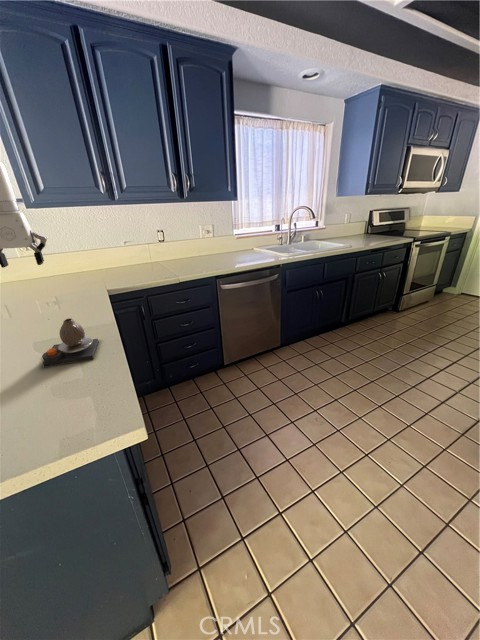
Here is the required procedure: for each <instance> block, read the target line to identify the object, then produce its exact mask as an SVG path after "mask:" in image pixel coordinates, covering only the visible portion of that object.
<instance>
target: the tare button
mask: <svg viewBox="0 0 480 640" xmlns="http://www.w3.org/2000/svg"><path fill="white" fill-rule="evenodd" d="M46 352H47V354H48V356H54V355H56V354H58V353H57V350H56V349H55V348H52V347H51V348H49V349H47V350H46Z"/></svg>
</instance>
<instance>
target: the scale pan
mask: <svg viewBox="0 0 480 640" xmlns="http://www.w3.org/2000/svg"><path fill="white" fill-rule="evenodd" d="M92 339H93V338H91V337H90V336H85V338H84V341H83V342H82V343H81V344H80V345H77V346H68V345H66V344H64V343H63V342H61V343H59V344H60V345H59V347H58V349H59V351H60V352H63V353H73V352H77V351H81V350H83V349H86V348H87V347H89V346H90V345H91V344H92V342H93V341H92Z"/></svg>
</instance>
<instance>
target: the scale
mask: <svg viewBox="0 0 480 640" xmlns="http://www.w3.org/2000/svg"><path fill="white" fill-rule="evenodd" d="M91 339H92V341H93V342H92V344H91V345H90V346H89V347H87V348H86V349H83V350H81V351H77V352H73V353H63V352H60V351H59V349H58V347H59V345H60V344H61V343H57V344H53V345H52V347H51V349H52V348H55V349H56V350H57V353H58V354H56V355H54V356H48V354H47V351H46V352H44V353H42V355H41V358H42V360H43V362H42V366H43V368H47V367H52V366H57V365H58V366H59V365H65V364H71V363H77V362H82V361H89V360H94V359H95V355H96V351H97V350H98V349H97V348H98V346H99V338H91Z"/></svg>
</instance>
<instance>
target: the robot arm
mask: <svg viewBox="0 0 480 640" xmlns="http://www.w3.org/2000/svg"><path fill="white" fill-rule="evenodd" d="M36 239H37V240H39V241H40V242H39V244H36V242H37V241H36ZM47 240H48V238H47V236H44V235H42V234H39V233H37V232H33V230H32V228H31V225H30V223H29V221H28V220H27V217H26V216H25V213H24V212H21V211H20V207H19V205H18V202H17V198H16V196H15V192H14V190H13V186H12V183H11V181H10V177H9V174H8V171H7V169H6V166H5V164H4V163H3V162H2V161H0V267H1V268H2V269H4V268H6V267H9V262H8V259H7V257H6V255H5V253H4V252H3V251H4V249H22V248H30V249H31V250H33V251H34V252H33V256H34V258H35V261H36V264H37V266H41V265H43V264H44V262H45V259H44V256H43V253H42V251H43V250H44V248H45V247H46V244H47Z"/></svg>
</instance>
